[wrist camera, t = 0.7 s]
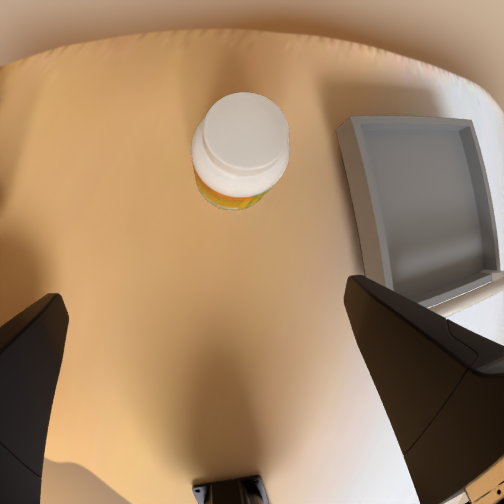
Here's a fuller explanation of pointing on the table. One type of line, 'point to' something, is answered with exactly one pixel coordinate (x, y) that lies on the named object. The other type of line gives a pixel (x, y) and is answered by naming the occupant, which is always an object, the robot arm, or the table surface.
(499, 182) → the table surface
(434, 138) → the grey toy cart
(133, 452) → the table surface
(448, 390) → the robot arm
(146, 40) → the table surface
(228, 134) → the supplement bottle
